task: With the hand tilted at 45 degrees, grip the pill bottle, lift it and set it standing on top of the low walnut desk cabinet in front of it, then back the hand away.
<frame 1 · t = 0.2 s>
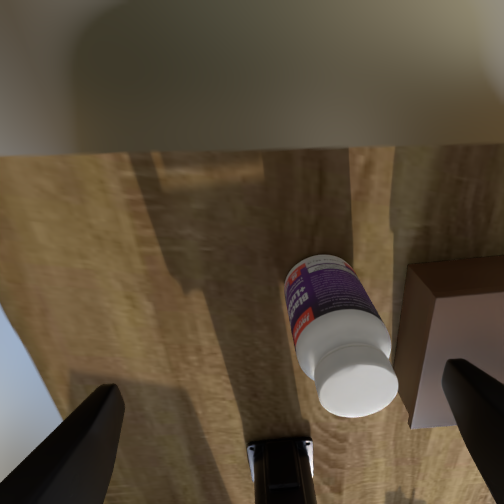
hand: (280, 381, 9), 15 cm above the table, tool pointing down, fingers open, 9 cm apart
pill bottle: (318, 282, 26), on the table
cabinet: (454, 322, 28), on the table
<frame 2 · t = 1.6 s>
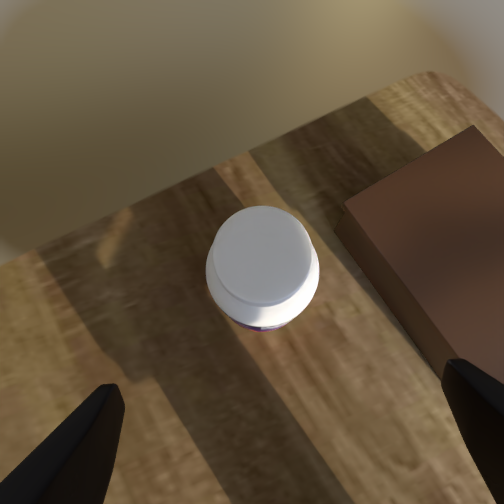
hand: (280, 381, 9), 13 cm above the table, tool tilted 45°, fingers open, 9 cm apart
pill bottle: (261, 291, 23), on the table
cabinet: (440, 269, 23), on the table
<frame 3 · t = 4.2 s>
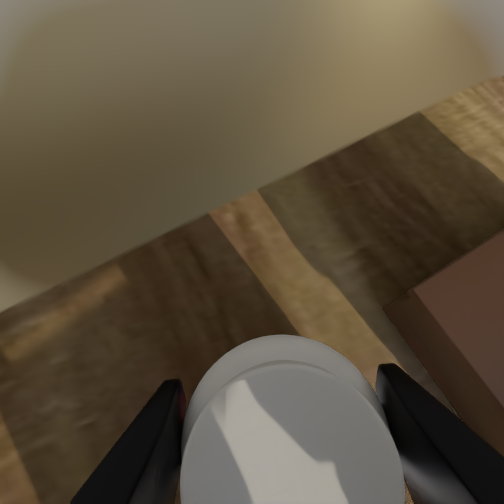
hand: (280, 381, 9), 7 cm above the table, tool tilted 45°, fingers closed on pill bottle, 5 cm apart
pill bottle: (277, 403, 15), on the table, touching gripper
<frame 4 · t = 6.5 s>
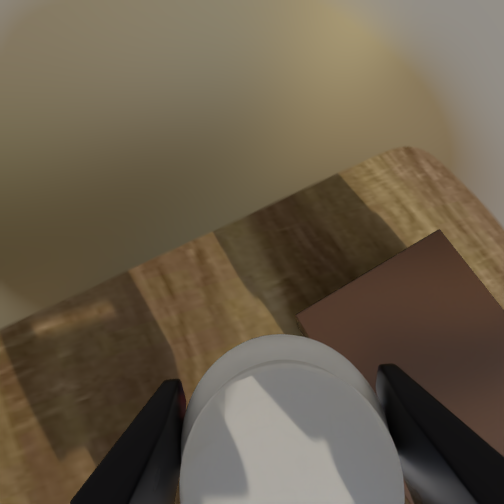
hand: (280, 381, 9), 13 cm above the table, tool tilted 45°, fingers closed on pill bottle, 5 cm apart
pill bottle: (277, 403, 15), point 6 cm above the table, touching gripper
cabinet: (406, 370, 22), on the table
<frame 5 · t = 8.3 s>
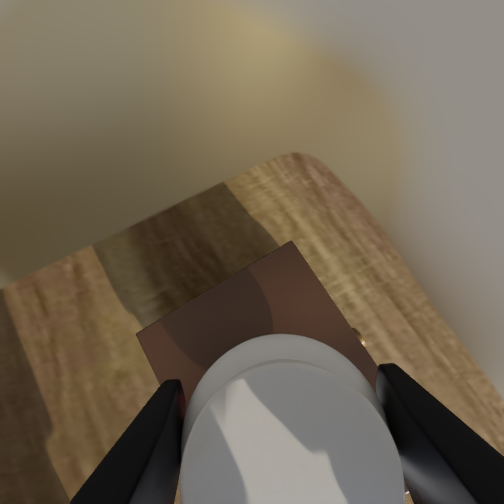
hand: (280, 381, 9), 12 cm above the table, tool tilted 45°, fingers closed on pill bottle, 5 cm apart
pill bottle: (277, 402, 15), point 6 cm above the table, touching gripper
cabinet: (277, 385, 21), on the table
when the fingers open (11 cm above the table, at t = 9.1 s): pill bottle stays where it is, resting on cabinet.
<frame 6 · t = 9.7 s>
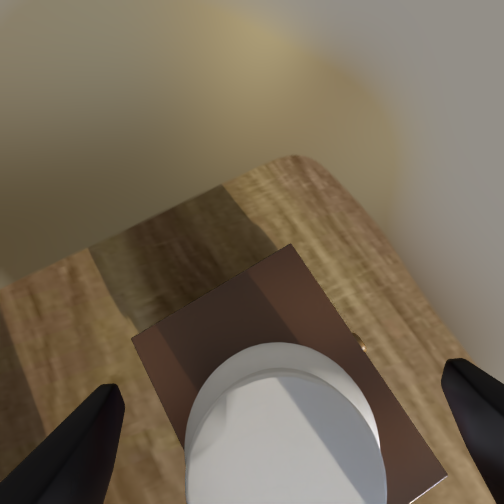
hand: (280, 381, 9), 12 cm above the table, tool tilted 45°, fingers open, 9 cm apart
pill bottle: (275, 405, 16), point 4 cm above the table, touching cabinet
cabinet: (276, 391, 20), on the table
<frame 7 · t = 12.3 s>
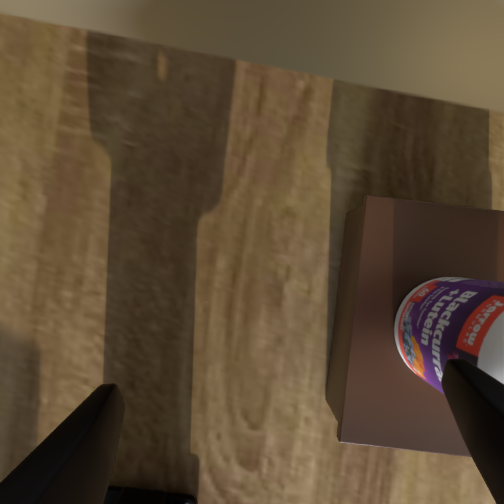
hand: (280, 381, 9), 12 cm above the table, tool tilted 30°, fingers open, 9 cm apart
pill bottle: (441, 329, 17), point 4 cm above the table, touching cabinet
cabinet: (405, 313, 22), on the table
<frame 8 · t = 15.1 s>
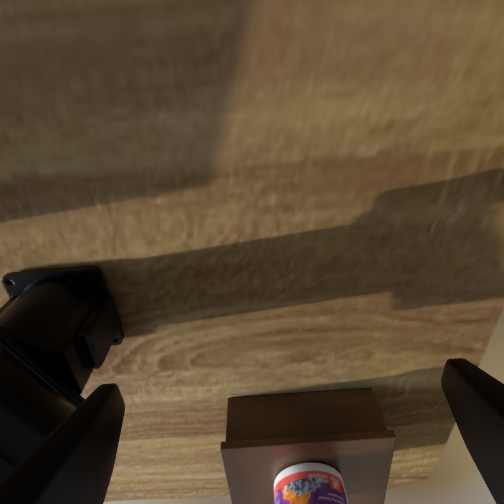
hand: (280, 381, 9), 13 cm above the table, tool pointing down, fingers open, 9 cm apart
pill bottle: (306, 477, 27), point 4 cm above the table, touching cabinet
cabinet: (299, 426, 31), on the table
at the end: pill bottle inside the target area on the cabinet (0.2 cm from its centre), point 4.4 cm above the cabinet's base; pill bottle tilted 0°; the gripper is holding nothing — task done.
